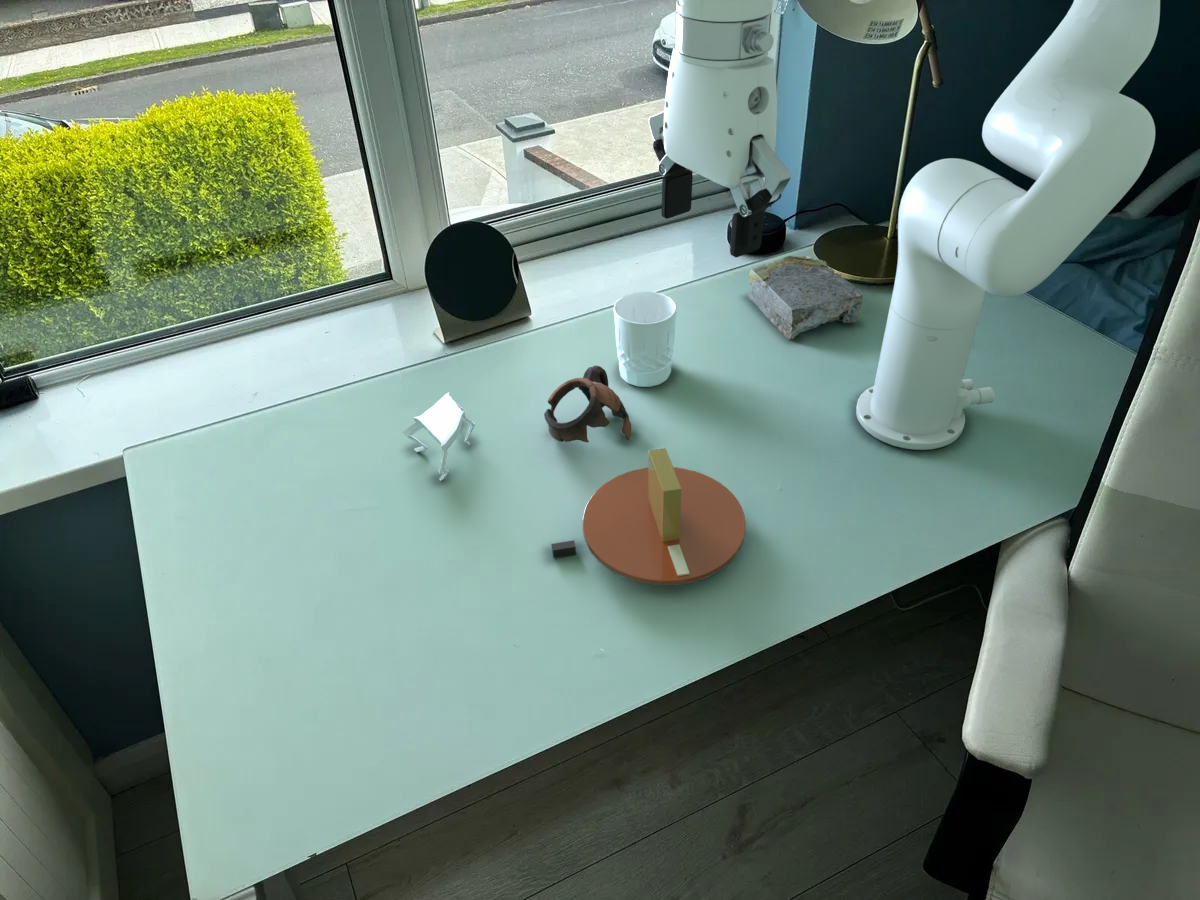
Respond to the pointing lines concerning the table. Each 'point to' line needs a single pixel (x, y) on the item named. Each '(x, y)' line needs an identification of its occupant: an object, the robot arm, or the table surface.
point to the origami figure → (441, 427)
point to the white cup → (645, 337)
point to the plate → (640, 537)
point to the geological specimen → (803, 294)
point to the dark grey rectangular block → (563, 549)
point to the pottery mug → (593, 416)
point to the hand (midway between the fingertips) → (709, 232)
